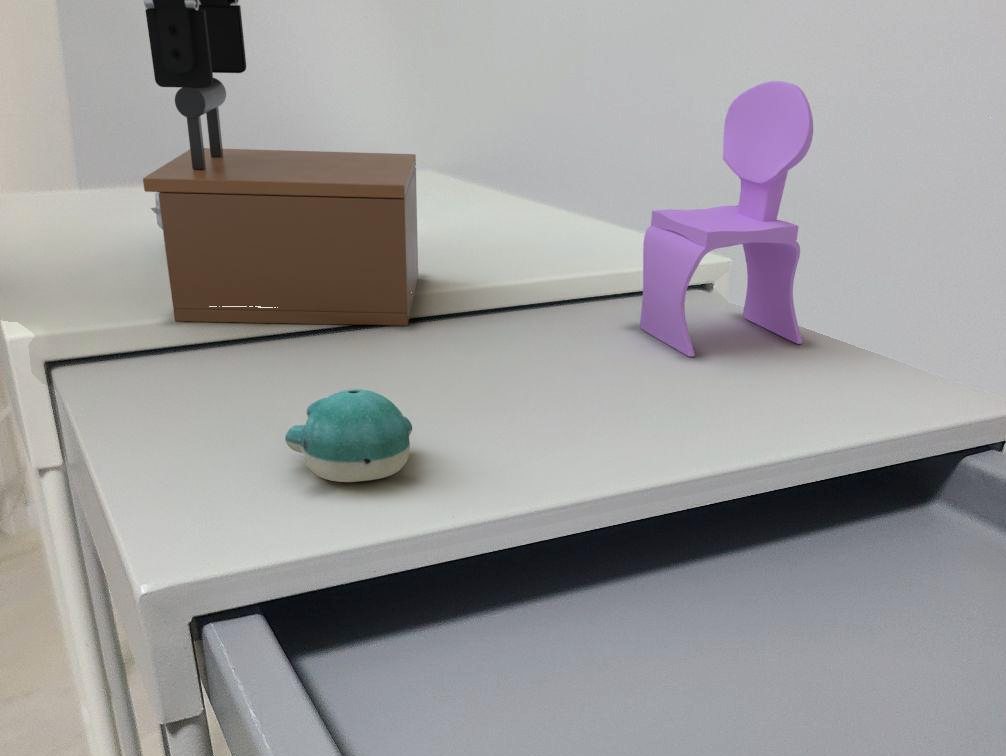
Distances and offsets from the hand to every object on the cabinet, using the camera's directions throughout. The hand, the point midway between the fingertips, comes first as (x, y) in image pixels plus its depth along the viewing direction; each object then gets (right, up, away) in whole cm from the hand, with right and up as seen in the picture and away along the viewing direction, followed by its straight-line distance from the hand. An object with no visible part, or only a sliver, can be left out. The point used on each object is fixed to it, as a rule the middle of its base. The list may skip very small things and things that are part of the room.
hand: (204, 79), depth 66 cm
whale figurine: (+12, -25, -17) cm, 32 cm away
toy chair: (+32, -16, +2) cm, 36 cm away
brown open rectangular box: (+5, -12, +7) cm, 15 cm away
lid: (+5, -5, +3) cm, 8 cm away
